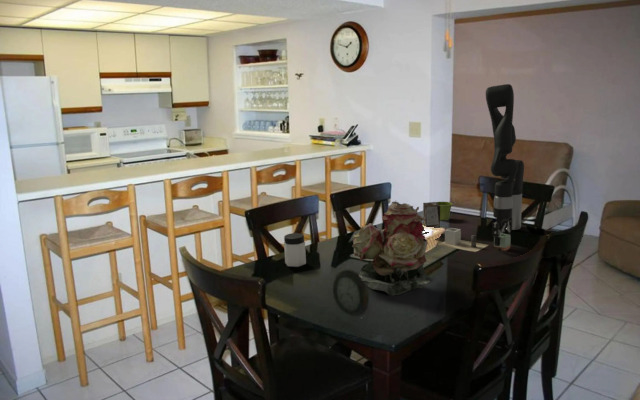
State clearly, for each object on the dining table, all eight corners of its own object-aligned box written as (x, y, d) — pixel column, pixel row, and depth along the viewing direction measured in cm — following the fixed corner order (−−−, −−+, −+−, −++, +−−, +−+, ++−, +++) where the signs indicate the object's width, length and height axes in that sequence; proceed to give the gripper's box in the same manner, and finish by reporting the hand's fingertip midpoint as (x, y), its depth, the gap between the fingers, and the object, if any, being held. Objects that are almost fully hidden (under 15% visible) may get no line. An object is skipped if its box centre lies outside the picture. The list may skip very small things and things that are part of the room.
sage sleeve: (499, 246, 228) (499, 232, 226) (510, 248, 224) (510, 234, 223) (493, 249, 224) (494, 235, 223) (505, 251, 221) (505, 237, 219)
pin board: (451, 240, 238) (451, 227, 237) (488, 247, 226) (489, 233, 225) (437, 247, 230) (437, 233, 229) (475, 254, 218) (475, 240, 216)
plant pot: (441, 216, 282) (441, 200, 280) (455, 219, 275) (456, 203, 273) (430, 219, 276) (430, 203, 275) (444, 222, 269) (445, 206, 267)
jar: (283, 261, 220) (281, 234, 217) (302, 259, 222) (300, 231, 220) (288, 268, 212) (286, 239, 209) (307, 265, 214) (306, 237, 211)
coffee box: (440, 240, 240) (440, 205, 237) (426, 240, 240) (426, 206, 237) (436, 234, 249) (436, 201, 245) (422, 235, 249) (422, 202, 246)
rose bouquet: (345, 277, 199) (342, 200, 193) (412, 265, 209) (411, 191, 203) (376, 301, 175) (374, 215, 169) (449, 286, 185) (450, 204, 179)
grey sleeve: (450, 240, 235) (450, 227, 233) (460, 242, 231) (460, 229, 230) (444, 243, 231) (444, 230, 230) (455, 245, 228) (455, 231, 226)
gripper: (502, 202, 228) (500, 238, 231) (486, 208, 218) (485, 245, 221) (518, 204, 223) (517, 240, 226) (503, 210, 213) (502, 248, 216)
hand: (501, 243), depth 224 cm, fingers open, 8 cm apart
